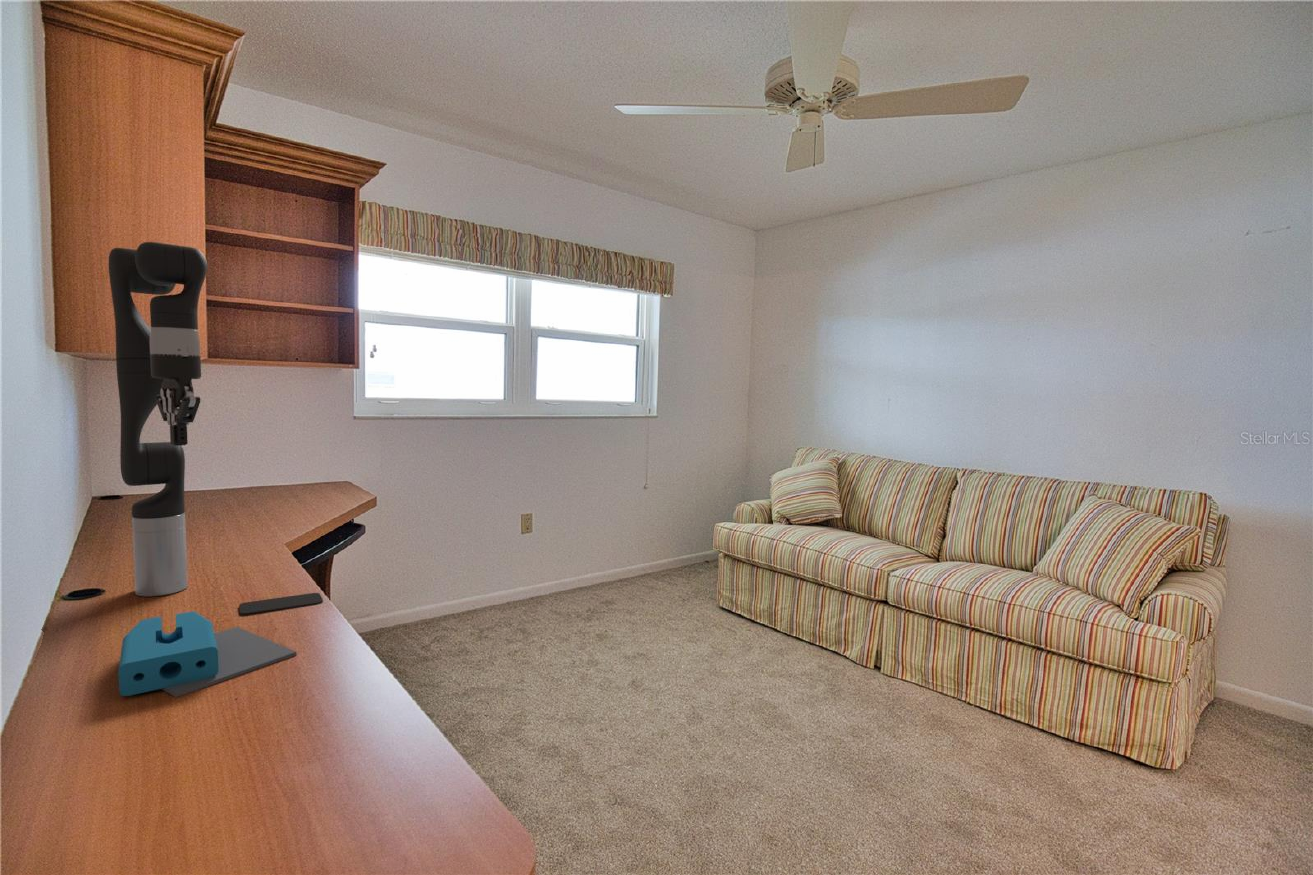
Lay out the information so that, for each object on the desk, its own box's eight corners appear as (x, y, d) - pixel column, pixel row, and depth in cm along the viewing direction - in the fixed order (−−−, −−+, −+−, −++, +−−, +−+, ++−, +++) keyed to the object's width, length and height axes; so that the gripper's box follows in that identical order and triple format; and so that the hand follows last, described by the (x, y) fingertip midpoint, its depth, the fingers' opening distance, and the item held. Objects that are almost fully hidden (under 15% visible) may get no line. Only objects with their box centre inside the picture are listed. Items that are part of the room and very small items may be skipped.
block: (125, 650, 108) (119, 697, 92) (124, 622, 107) (118, 665, 92) (210, 634, 115) (218, 675, 100) (209, 608, 115) (217, 645, 99)
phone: (323, 601, 134) (240, 614, 126) (323, 605, 134) (240, 618, 126) (319, 592, 140) (238, 603, 132) (319, 595, 141) (238, 607, 132)
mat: (119, 664, 104) (119, 661, 104) (237, 629, 119) (237, 626, 119) (175, 697, 94) (175, 693, 94) (296, 654, 109) (296, 651, 109)
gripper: (135, 352, 117) (139, 444, 119) (168, 351, 111) (172, 449, 112) (182, 354, 124) (185, 441, 125) (215, 354, 117) (218, 446, 118)
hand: (179, 445), depth 119 cm, fingers closed
